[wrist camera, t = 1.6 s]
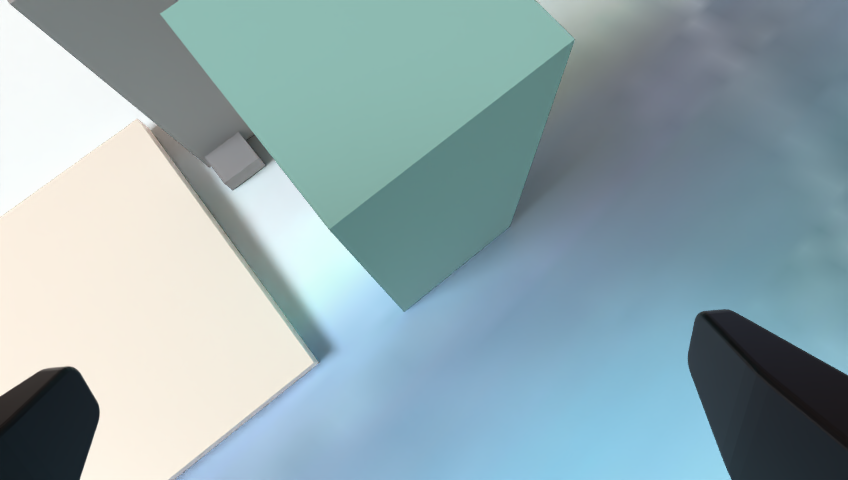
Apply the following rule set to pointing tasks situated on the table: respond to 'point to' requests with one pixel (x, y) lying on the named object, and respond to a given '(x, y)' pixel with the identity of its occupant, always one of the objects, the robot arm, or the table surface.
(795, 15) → the table surface
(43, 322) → the pad
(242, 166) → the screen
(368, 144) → the teal block
